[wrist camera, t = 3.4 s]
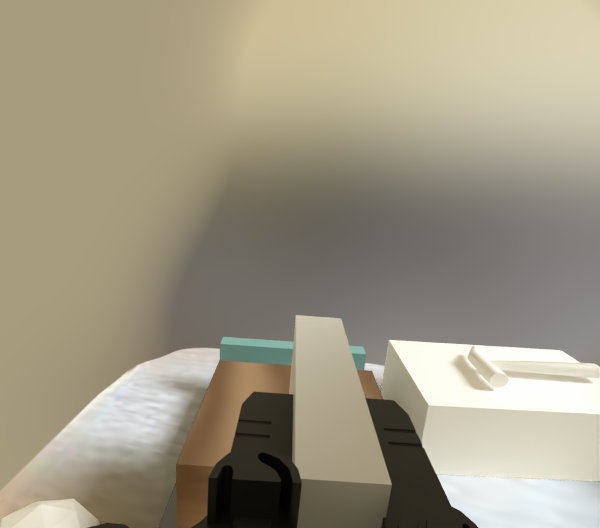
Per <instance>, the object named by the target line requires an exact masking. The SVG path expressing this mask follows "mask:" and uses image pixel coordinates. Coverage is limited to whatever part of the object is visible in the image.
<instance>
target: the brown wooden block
mask: <svg viewBox="0 0 600 528" xmlns="http://www.w3.org/2000/svg"><path fill="white" fill-rule="evenodd" d="M357 373H358V376H359V379H360V382H361V386H362V389H363V392H364V395H365V398H370V399H382V396H381V394H380V391H379V388H378V386H377V383H376V380H375V378H374V375H373V372H372V371H365V370H357ZM290 376H291V365H278V364H264V363H250V362H235V361H221V360H220V361H219V363H218V365H217V368H216V370H215V373H214V375H213V377H212V380H211V382H210V385H209V387H208V389H207V392H206V394H205V397H204V399H203V401H202V404H201V406H200V409H199V411H198V413H197V416H196V418H195V421H194V423H193V425H192V428H191V430H190V433H189V435H188V438H187V440H186V442H185V445H184V447H183V450H182V452H181V454H180V457H179V459H178V462H177V464H176V495H177V528H191V527H193V526H194V525H196V524H197V523H199V522H200V521H201V520H202V519H203V518H205V517H206V516H207V506H208V477H209V475H210V474H211V472H212V470H213V468H214V466H215V464H216V463H217V462H219V461H220V460H221V459H222V458H223V457H225V456H226V455H227V454H228V453H230V452H231V448H232V444H233V439H234V436H235V431H236V427H237V423H238V419H239V415H240V410H241V406H242V403H243V402H244V401H245V400H246V399H247V398H248V397H249V396H250V395H251V394H252V393H253V392H267V393H281V394H289V387H290Z"/></svg>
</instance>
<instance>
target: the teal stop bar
mask: <svg viewBox="0 0 600 528" xmlns="http://www.w3.org/2000/svg"><path fill="white" fill-rule="evenodd" d="M293 343H294V342H287V341H273V340H259V339H246V338H232V337H231V338H230V337H223V339H222V341H221V344H220V360H221V361H235V362H250V363H264V364H278V365H292V354H293ZM349 347H350V350H351V353H352V356H353V360H354V363H355V366H356V369H357V370H364V365H365V358H366V353H365V350H364V348H363V347H358V346H349Z"/></svg>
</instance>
